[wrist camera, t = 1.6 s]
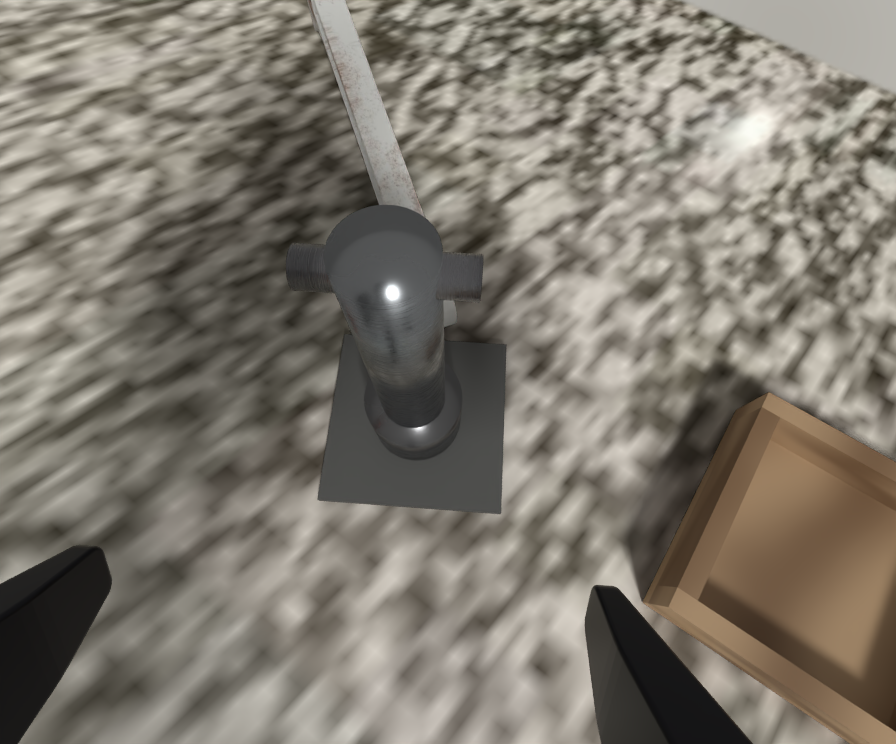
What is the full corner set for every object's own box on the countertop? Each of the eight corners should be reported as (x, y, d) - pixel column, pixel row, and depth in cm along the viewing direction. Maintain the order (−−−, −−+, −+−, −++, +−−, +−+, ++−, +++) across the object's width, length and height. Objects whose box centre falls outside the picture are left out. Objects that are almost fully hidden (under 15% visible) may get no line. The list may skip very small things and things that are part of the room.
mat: (500, 513, 22) (501, 512, 21) (319, 500, 22) (317, 499, 22) (505, 348, 25) (506, 344, 24) (345, 337, 25) (344, 334, 25)
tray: (954, 534, 21) (1019, 530, 19) (886, 768, 18) (953, 799, 16) (735, 409, 24) (768, 392, 21) (642, 602, 20) (668, 607, 18)
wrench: (424, 356, 28) (292, -33, 35) (455, 346, 28) (317, -38, 35) (422, 299, 20) (253, -186, 27) (465, 286, 20) (286, -192, 27)
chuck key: (467, 380, 24) (487, 185, 12) (462, 463, 22) (479, 341, 10) (375, 374, 24) (300, 175, 12) (364, 456, 22) (264, 328, 10)
